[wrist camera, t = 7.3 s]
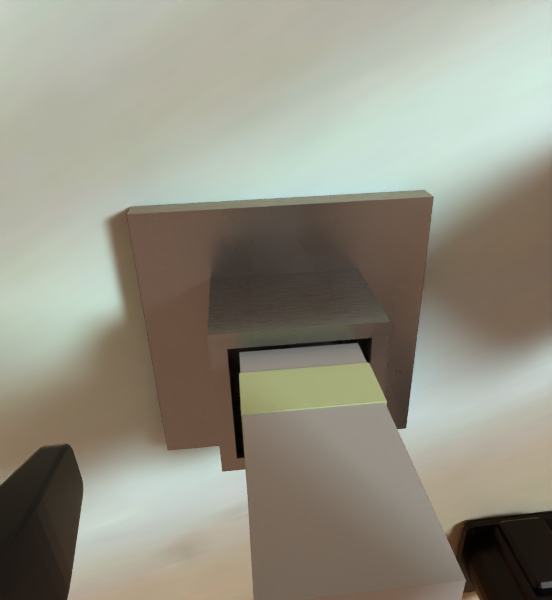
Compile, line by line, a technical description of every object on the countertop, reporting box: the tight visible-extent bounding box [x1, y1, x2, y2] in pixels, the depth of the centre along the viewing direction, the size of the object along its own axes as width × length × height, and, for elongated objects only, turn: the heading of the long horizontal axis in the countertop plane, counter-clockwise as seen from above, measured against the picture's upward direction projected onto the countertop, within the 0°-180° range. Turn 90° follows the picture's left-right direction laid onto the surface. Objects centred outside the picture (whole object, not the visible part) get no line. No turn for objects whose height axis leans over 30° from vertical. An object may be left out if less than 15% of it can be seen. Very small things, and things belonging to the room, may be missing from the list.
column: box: [239, 343, 466, 600], centre depth 15 cm, size 4×4×9 cm
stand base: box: [127, 190, 433, 471], centre depth 20 cm, size 12×12×6 cm
